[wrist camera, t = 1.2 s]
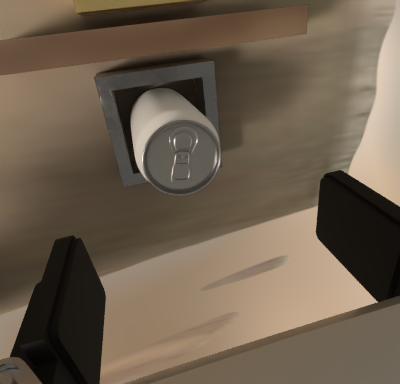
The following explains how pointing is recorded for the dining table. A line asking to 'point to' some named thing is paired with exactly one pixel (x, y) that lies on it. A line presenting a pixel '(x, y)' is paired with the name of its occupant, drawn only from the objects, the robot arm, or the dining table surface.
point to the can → (173, 143)
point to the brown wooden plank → (149, 39)
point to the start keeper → (148, 76)
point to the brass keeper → (124, 5)
